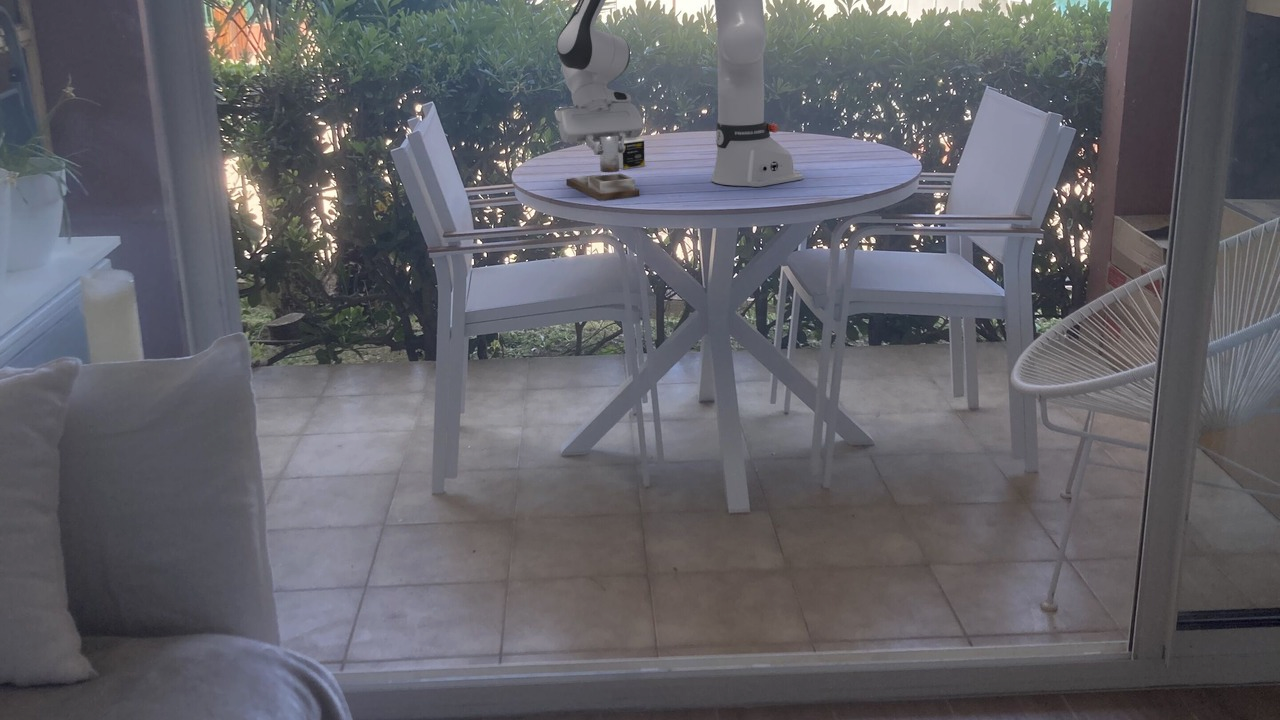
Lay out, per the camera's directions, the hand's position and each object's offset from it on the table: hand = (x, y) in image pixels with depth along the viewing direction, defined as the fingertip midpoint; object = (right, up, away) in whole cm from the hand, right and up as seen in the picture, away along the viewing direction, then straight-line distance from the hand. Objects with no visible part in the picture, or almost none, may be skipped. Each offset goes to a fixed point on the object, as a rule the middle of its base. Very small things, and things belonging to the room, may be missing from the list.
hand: (610, 152), depth 264 cm
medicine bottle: (+3, +3, +39) cm, 39 cm away
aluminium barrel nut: (0, -4, +2) cm, 4 cm away
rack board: (-2, -8, +9) cm, 12 cm away
